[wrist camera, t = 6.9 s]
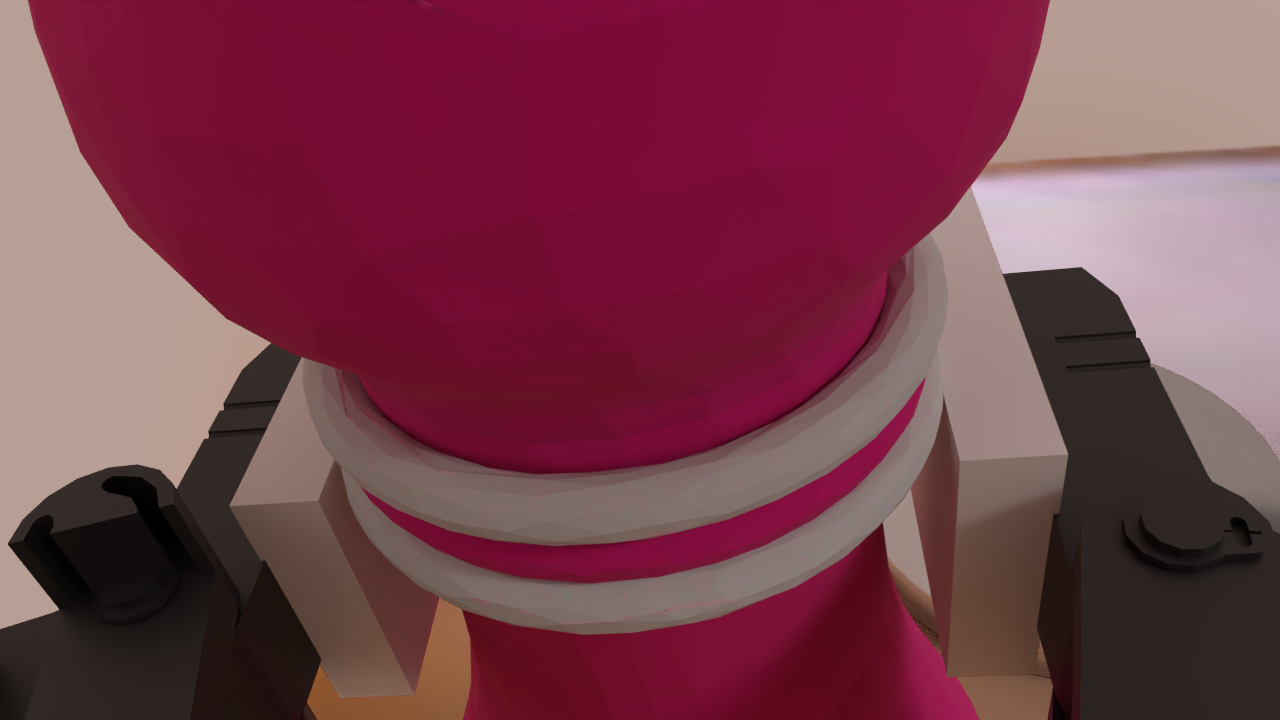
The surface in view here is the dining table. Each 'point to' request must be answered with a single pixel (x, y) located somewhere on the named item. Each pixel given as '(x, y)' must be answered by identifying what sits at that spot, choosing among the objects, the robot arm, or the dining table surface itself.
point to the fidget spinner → (1218, 440)
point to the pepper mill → (588, 305)
